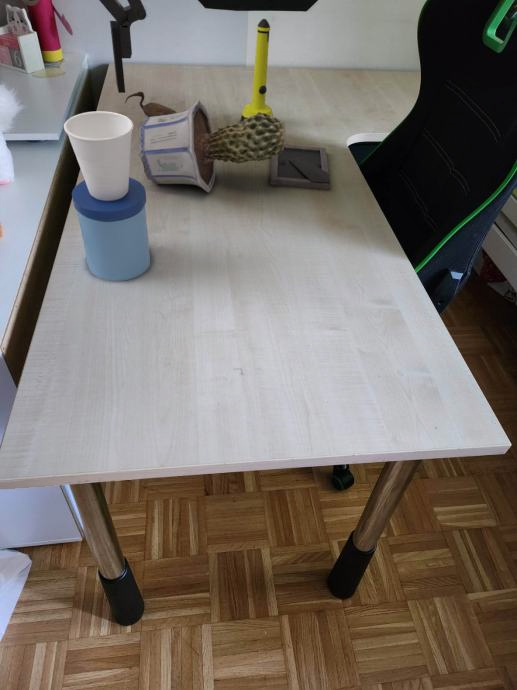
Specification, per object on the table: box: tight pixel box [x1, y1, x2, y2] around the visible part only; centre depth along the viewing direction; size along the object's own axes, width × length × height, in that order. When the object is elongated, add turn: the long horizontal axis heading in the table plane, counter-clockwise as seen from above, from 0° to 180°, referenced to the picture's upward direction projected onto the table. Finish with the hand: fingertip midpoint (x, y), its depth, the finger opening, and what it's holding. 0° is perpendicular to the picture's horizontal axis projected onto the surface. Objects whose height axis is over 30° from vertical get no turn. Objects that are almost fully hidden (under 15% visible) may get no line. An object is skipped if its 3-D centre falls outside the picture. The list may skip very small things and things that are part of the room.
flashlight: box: [240, 18, 274, 122], centre depth 130 cm, size 25×9×9 cm
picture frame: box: [270, 144, 331, 191], centre depth 123 cm, size 13×2×18 cm
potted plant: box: [138, 100, 286, 193], centre depth 109 cm, size 18×18×30 cm
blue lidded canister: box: [71, 176, 151, 282], centre depth 89 cm, size 12×12×14 cm
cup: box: [63, 110, 134, 201], centre depth 80 cm, size 10×10×11 cm
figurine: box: [125, 91, 178, 118], centre depth 131 cm, size 14×4×9 cm, turn 95°
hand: (59, 89), depth 58 cm, fingers open, 13 cm apart
